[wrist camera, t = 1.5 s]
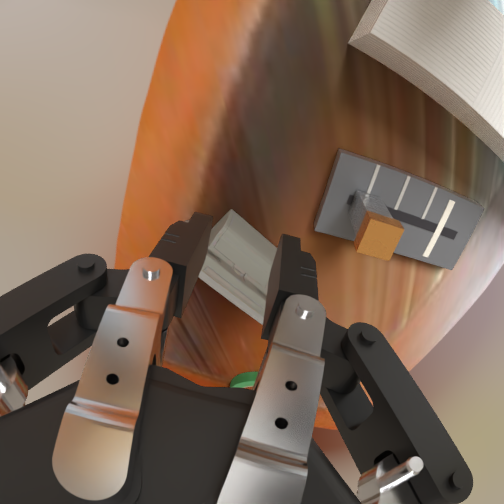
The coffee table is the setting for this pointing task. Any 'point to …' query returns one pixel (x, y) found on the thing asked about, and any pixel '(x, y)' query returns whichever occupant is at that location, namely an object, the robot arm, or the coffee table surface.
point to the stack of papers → (444, 56)
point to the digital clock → (239, 264)
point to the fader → (374, 226)
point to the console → (400, 208)
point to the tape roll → (244, 380)
